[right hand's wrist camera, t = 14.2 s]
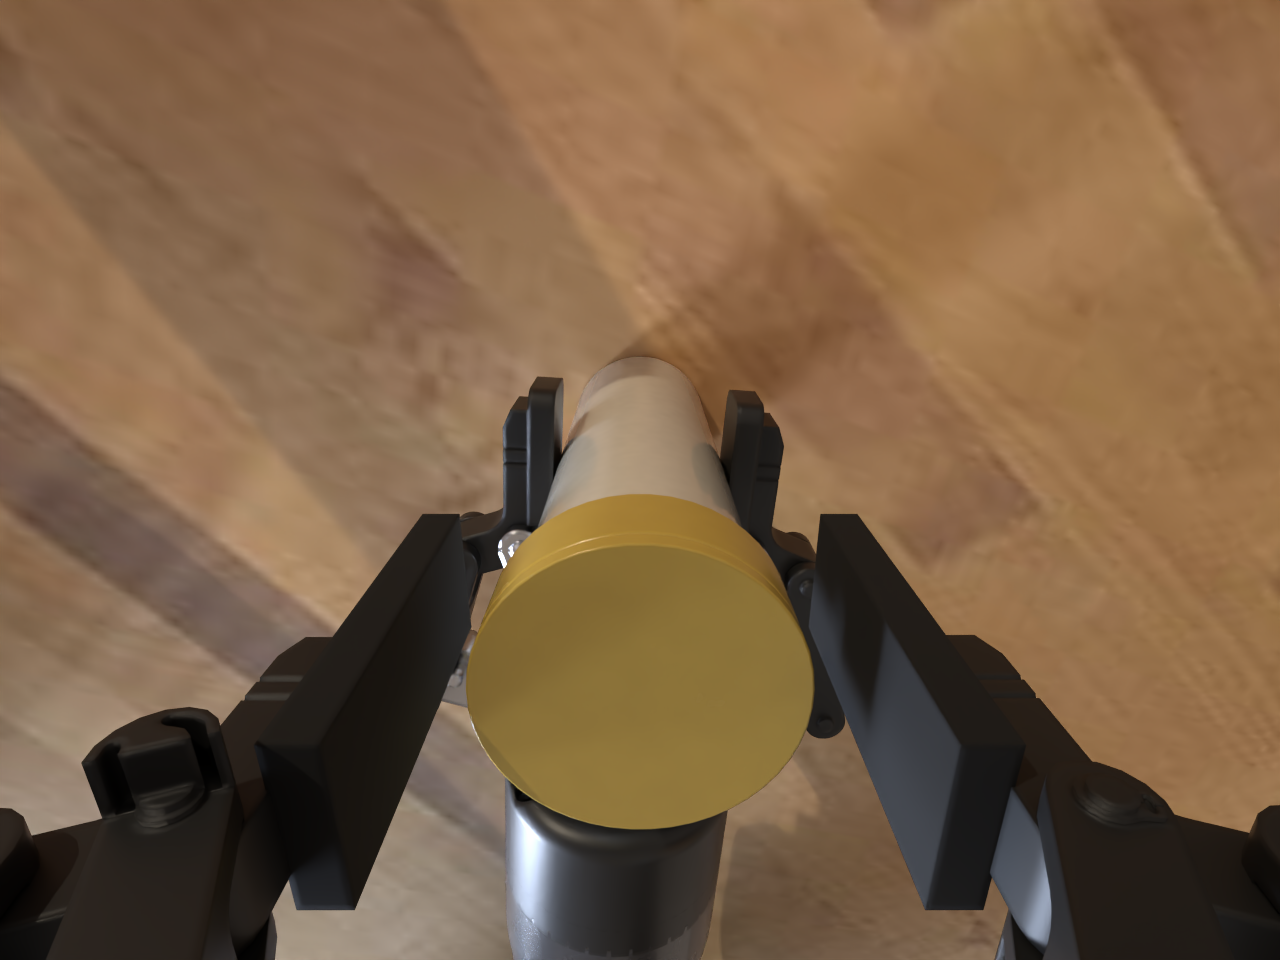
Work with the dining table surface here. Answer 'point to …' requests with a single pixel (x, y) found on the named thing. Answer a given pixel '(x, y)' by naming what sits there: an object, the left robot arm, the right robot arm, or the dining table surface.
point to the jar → (640, 441)
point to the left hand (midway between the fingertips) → (645, 392)
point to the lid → (640, 665)
